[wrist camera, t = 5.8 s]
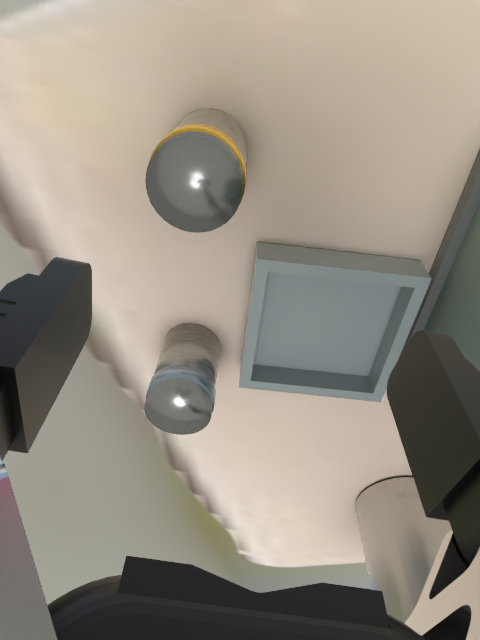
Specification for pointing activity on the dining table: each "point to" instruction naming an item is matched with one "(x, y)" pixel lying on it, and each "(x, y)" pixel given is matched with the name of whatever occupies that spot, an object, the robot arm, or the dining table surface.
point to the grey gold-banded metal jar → (199, 171)
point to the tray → (328, 320)
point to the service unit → (457, 278)
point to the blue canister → (184, 380)
